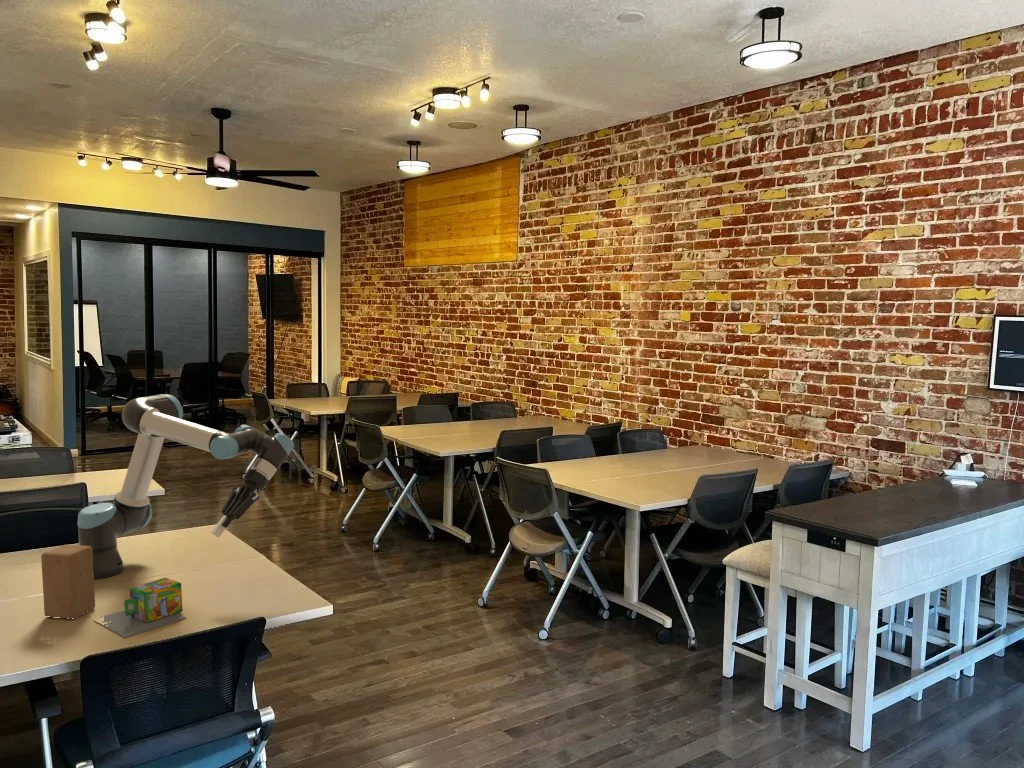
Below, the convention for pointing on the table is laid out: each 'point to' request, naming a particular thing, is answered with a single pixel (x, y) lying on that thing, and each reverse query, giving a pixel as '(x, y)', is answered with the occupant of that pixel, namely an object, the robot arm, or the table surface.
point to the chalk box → (154, 600)
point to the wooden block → (68, 581)
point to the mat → (136, 623)
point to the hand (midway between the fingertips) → (215, 534)
